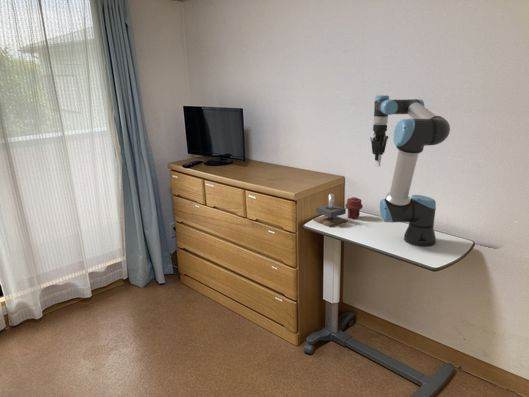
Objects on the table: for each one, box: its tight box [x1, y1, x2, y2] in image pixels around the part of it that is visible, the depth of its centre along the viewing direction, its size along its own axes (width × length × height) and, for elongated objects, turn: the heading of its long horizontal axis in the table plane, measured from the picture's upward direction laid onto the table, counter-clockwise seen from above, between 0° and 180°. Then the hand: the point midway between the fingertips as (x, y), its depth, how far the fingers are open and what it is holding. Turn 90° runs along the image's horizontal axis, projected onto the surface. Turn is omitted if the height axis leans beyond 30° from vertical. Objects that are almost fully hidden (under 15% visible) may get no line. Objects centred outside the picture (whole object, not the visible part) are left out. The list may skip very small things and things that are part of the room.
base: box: [313, 215, 349, 228], centre depth 236 cm, size 14×14×2 cm
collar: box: [315, 204, 347, 218], centre depth 234 cm, size 12×12×3 cm
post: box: [327, 193, 335, 220], centre depth 234 cm, size 3×3×15 cm
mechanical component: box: [344, 196, 363, 220], centre depth 241 cm, size 12×10×10 cm
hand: (377, 166), depth 230 cm, fingers closed
